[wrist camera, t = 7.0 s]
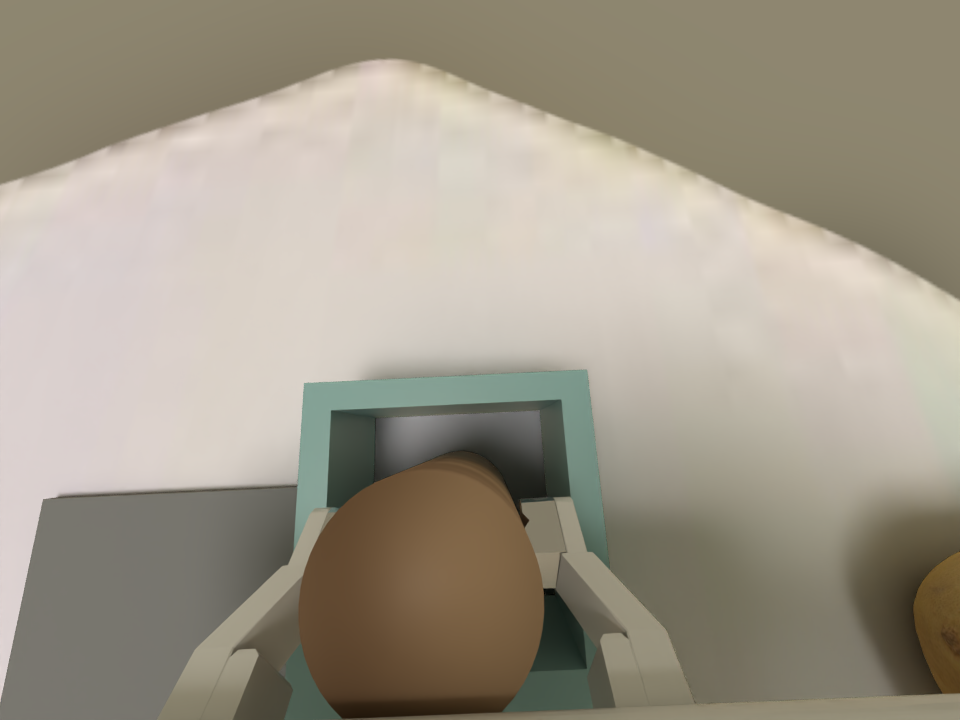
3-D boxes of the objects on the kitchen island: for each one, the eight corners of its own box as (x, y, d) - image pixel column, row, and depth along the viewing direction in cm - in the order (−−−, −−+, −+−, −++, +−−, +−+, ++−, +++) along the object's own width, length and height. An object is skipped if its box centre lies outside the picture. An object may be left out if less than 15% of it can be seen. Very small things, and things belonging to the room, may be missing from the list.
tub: (558, 388, 17) (586, 369, 12) (580, 620, 15) (625, 707, 10) (355, 398, 17) (304, 383, 12) (348, 630, 15) (282, 722, 10)
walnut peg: (505, 449, 17) (534, 465, 7) (511, 552, 16) (555, 743, 6) (411, 453, 17) (306, 476, 7) (411, 557, 16) (290, 754, 6)
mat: (310, 485, 16) (304, 487, 16) (292, 806, 14) (285, 819, 13) (56, 497, 16) (43, 499, 16) (-10, 818, 14) (-27, 832, 13)
